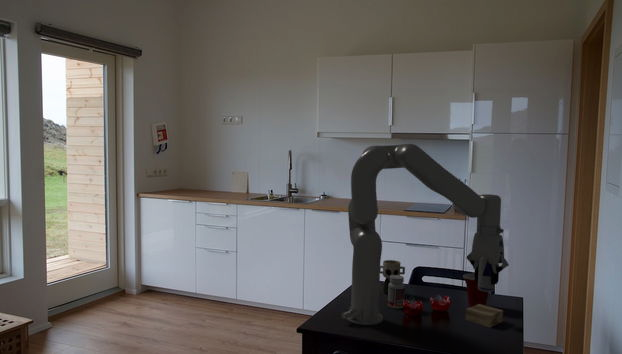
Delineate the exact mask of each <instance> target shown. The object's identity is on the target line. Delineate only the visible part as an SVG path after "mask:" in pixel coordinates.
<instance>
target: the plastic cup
mask: <svg viewBox="0 0 622 354" xmlns="http://www.w3.org/2000/svg"><path fill="white" fill-rule="evenodd" d="M462 277H463V279H464V281H465V287H466V292H467V293H466V294H467V300H468V306H469V308H470V307H472V306H475V305H477V304H481V305H485V306H487V301H488V297H489V293H490V292H484V291H480V290H479V289H478V281H475V277H474V273H466V274H463V275H462Z"/></svg>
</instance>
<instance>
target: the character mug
mask: <svg viewBox="0 0 622 354" xmlns="http://www.w3.org/2000/svg"><path fill="white" fill-rule="evenodd" d="M381 269H382V271H381ZM401 270H402V271H401ZM381 274H382V276H383V278H384V283H383V289H382V290H383V293H385V294H388V285H389V283H390V276H391V275H400V276H403V275H405V274H406V267H405V266H401V262H400V261H399V260H395V259H386V260H383V262H382V265H380V275H381Z"/></svg>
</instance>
